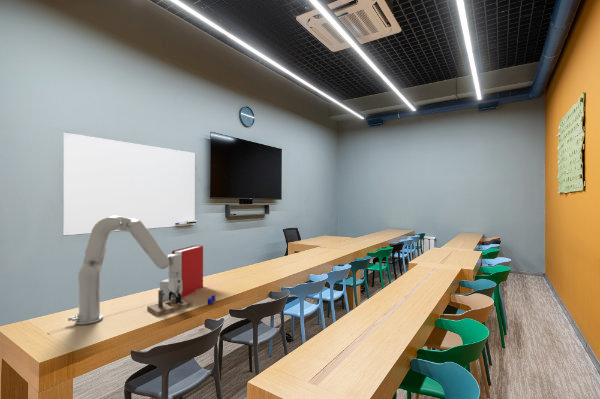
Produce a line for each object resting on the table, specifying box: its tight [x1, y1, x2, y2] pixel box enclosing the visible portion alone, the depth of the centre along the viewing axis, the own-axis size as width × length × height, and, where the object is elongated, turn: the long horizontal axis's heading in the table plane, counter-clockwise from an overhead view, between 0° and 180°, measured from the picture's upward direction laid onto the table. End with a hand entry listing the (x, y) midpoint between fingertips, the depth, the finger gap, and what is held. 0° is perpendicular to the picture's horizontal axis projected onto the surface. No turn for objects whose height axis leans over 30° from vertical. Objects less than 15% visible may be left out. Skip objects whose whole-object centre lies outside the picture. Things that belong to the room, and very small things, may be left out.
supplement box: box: [159, 278, 170, 302], centre depth 204 cm, size 7×7×13 cm
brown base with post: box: [146, 289, 193, 317], centre depth 186 cm, size 22×14×12 cm, turn 138°
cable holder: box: [207, 294, 216, 305], centre depth 196 cm, size 8×4×4 cm, turn 174°
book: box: [171, 244, 204, 298], centre depth 221 cm, size 27×8×32 cm, turn 166°
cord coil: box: [170, 293, 180, 307], centre depth 188 cm, size 5×5×8 cm
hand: (174, 300), depth 188 cm, fingers open, 9 cm apart
